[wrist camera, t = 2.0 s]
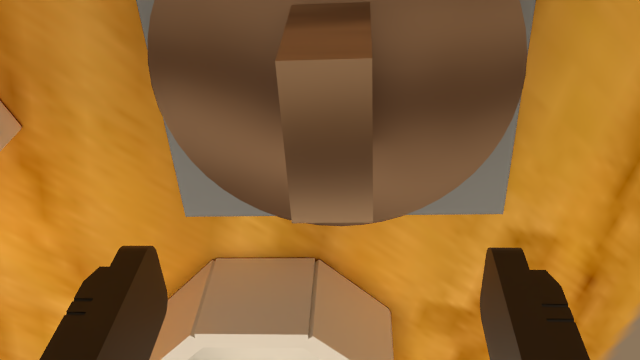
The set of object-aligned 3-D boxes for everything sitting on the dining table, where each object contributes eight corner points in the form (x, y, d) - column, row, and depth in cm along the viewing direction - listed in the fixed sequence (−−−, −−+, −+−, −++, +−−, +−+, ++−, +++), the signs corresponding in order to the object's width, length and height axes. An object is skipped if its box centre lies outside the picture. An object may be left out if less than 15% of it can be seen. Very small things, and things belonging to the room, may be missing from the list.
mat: (110, -134, 21) (105, -132, 20) (556, -158, 19) (559, -157, 19) (187, 211, 29) (185, 216, 29) (501, 208, 28) (502, 213, 28)
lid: (116, -122, 20) (35, -86, 15) (548, -146, 19) (615, -115, 14) (191, 211, 28) (154, 307, 23) (497, 208, 27) (528, 308, 22)
